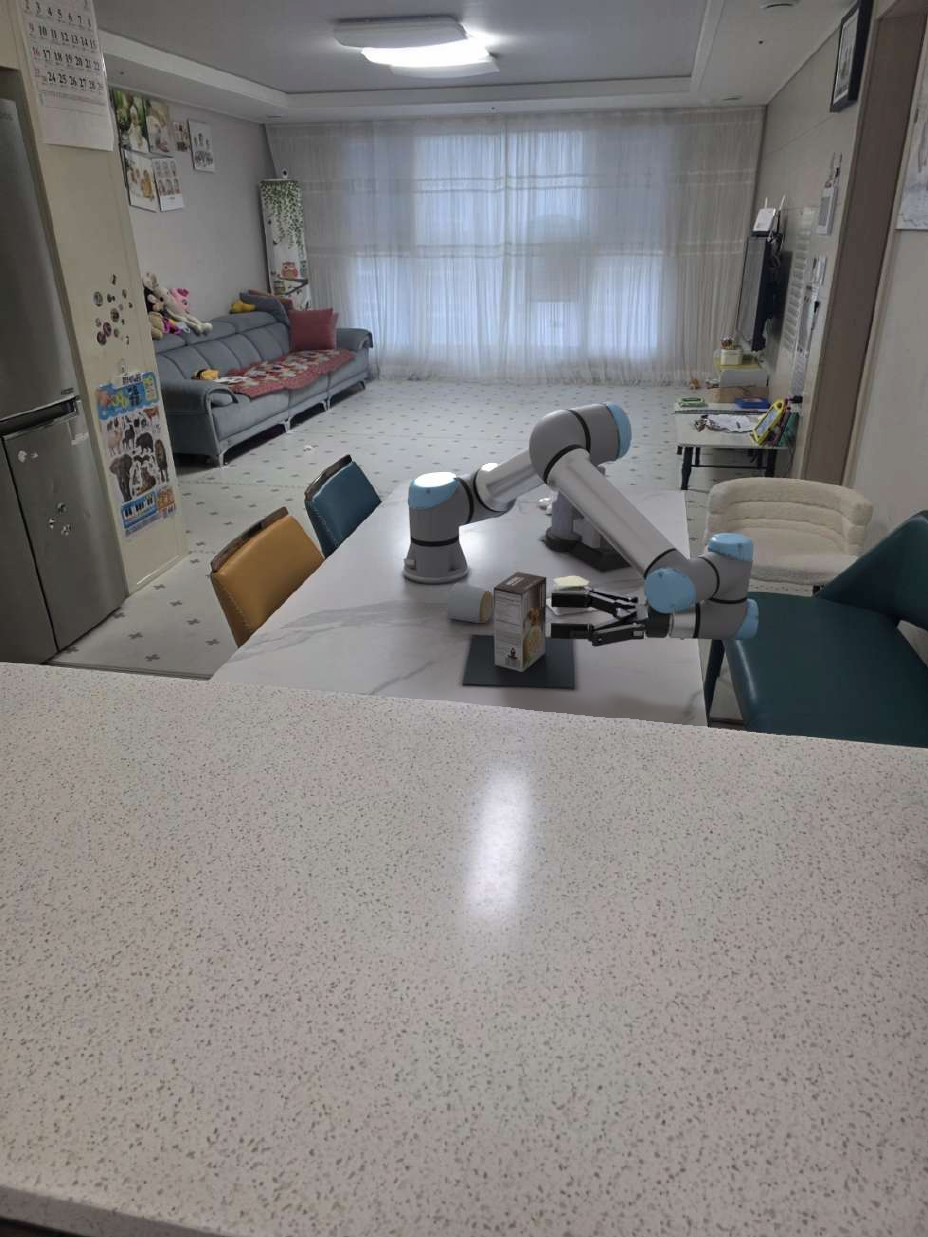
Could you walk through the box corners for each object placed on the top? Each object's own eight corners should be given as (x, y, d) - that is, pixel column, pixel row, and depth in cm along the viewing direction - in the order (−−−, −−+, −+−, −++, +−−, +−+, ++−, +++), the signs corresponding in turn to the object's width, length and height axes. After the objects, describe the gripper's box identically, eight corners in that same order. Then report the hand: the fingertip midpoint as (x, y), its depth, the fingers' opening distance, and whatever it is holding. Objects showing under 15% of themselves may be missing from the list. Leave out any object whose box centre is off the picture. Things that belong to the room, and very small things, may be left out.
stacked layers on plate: (556, 615, 175) (557, 591, 173) (541, 599, 183) (542, 576, 181) (600, 609, 178) (601, 586, 175) (583, 593, 185) (584, 571, 183)
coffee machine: (531, 537, 221) (533, 446, 210) (582, 527, 227) (586, 439, 216) (594, 574, 196) (599, 473, 186) (649, 562, 202) (657, 464, 192)
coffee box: (516, 646, 162) (517, 570, 155) (546, 653, 159) (547, 576, 152) (493, 665, 155) (492, 586, 148) (523, 673, 152) (524, 593, 145)
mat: (472, 636, 167) (472, 634, 167) (571, 638, 165) (572, 637, 165) (462, 685, 149) (462, 683, 149) (573, 688, 147) (574, 687, 147)
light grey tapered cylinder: (482, 629, 169) (482, 595, 166) (446, 624, 172) (445, 590, 169) (499, 610, 178) (500, 577, 175) (464, 605, 181) (464, 572, 178)
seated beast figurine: (537, 505, 246) (538, 466, 241) (564, 503, 248) (566, 463, 243) (547, 515, 238) (549, 474, 233) (576, 512, 240) (577, 471, 234)
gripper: (674, 668, 141) (549, 664, 143) (658, 608, 163) (551, 605, 165) (678, 628, 137) (550, 625, 140) (661, 573, 160) (552, 570, 162)
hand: (550, 614), depth 152 cm, fingers open, 13 cm apart
